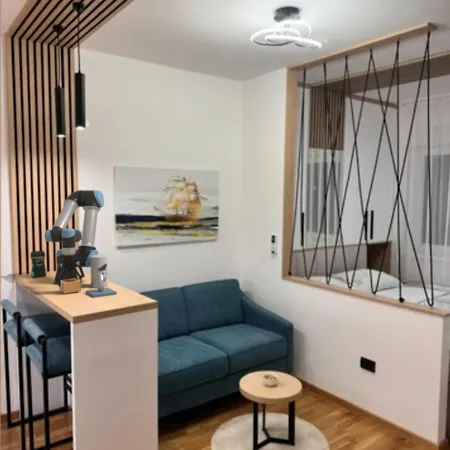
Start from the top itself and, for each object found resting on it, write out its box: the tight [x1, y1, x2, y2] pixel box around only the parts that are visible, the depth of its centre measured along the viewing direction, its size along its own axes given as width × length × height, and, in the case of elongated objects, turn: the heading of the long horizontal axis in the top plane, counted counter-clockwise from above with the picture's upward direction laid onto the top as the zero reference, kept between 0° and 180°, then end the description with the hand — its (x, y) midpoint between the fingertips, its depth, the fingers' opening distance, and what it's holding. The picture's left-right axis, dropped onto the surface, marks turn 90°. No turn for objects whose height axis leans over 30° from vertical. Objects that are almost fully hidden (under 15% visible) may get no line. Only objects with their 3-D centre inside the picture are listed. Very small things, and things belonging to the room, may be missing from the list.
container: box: [90, 254, 108, 289], centre depth 275 cm, size 10×10×20 cm
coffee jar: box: [30, 250, 47, 278], centre depth 304 cm, size 10×8×19 cm
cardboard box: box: [58, 278, 82, 294], centre depth 261 cm, size 10×10×6 cm
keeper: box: [85, 274, 118, 299], centre depth 256 cm, size 14×14×12 cm
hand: (70, 290), depth 261 cm, fingers closed on cardboard box, 10 cm apart
